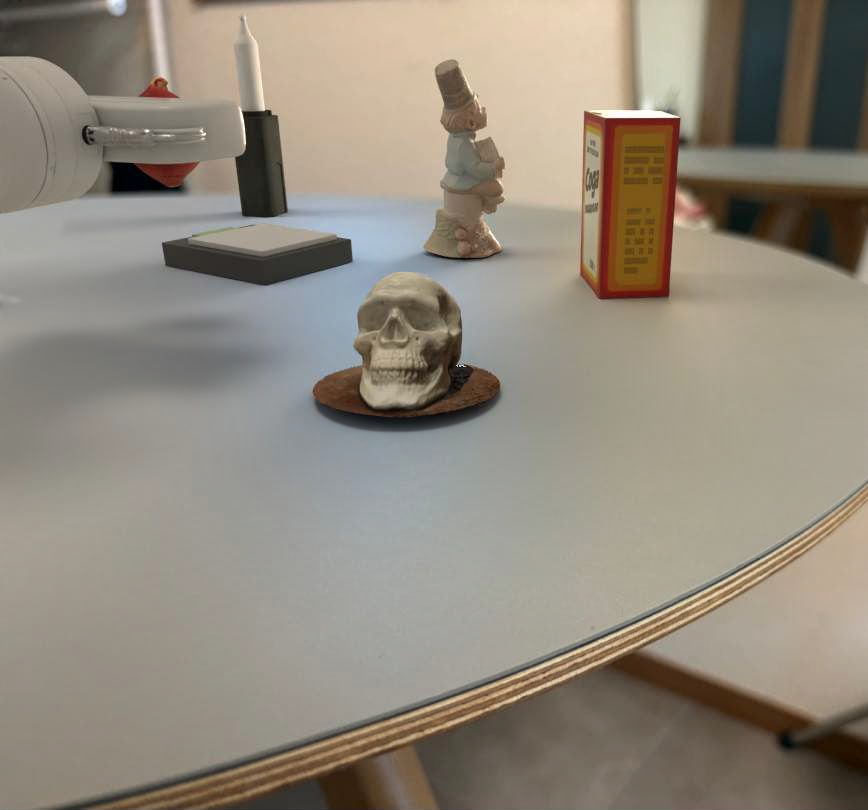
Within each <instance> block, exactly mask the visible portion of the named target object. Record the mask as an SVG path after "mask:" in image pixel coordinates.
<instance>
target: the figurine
mask: <svg viewBox="0 0 868 810" xmlns="http://www.w3.org/2000/svg"><path fill="white" fill-rule="evenodd" d="M434 76H435V80H436V83H437V88H438V89H439V93H440V95H441V98H442V102H443V107H442V111H441V112H442V113H441V117H440V120H439V122H440V124H441V125H442V126H443V128H444V130H445V131H446V132H447V133H448V134H449V135H448V136H447V140H446V153H445V157H444V165H445V168H446V169H447V171H446V172H445V174H444V176H443V178H442V179H441V180H440V182H439V185H440V188H441V189H442V190H443V208H442V209H437V210H436V212H435V224H434V229H433V231H432V232H431V234H430V236H429V237H428V239H427V240H426V242H425V243H424V244H423V245H422V248H423V250H425V251H426V252H428V253H431V254H434V255H438V256H443V257H448V258H457V259H458V258H459V259H461V258H466V259H470V258H471V259H478V258H488V257H489V256H491V255H494V254H497V253H499V252H501V251H502V247H501V244H500V243H499V241H498V240H497V239H496V238H495V236H494V234H493V233H492V231H491V229H490V228H489V225H488V224H487V223H486V222H485V219H484V218H483V216H484V213H485V214H487V215H492V214H495V213H496V212H497V209H498V205H500V204H503V203H504V202H505V200H506V198H505V195H503V193H504V185H503V184H502V183H501V181H500V180H501V179H502V178H503V170H506V169H507V168H506V167H507V164H506V160H505V157H504V156H500V153H499V150H498V148H497V147H498V146H497V145H496V143H495V140H494V138H493V137H492V136H488V137H485V138H484V139H480V140H477V141H475V140H476V137H477V131H479V130H483V129H485V128H487V127H488V121H489V115H488V113H487V112H486V111H487V107H486V106H481V105H480V101H479V98H480V96H479V94H476V92H475V91H473V90H472V88H471V86H470V85H469V82H468V80H467V78H466V76H465V74H464V72H463V69H462V67H461V65H460V63H459V62H458V60H456V59H454V58H453V59H447V60H444V61H442V62H440V63H438V64H437V65H436V66H435V68H434Z"/></svg>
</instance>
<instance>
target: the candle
mask: <svg viewBox="0 0 868 810" xmlns="http://www.w3.org/2000/svg"><path fill="white" fill-rule="evenodd" d="M238 18H239V25H238V31H237V35H236V37H235V40H234V42H233V50H234V51H233V52H234V58H235V67H236V74H237V83H238V91H239V98H240V108H241V111H242V114H243V120H244V127H245V136H246V147H245V151H244V153H243V154H242V155H240V156H237V157H234V162H235V168H236V169H235V170H236V179H237V186H238V193H239V201H240V209H241V215H242V216H243V217H260V218H261V217H262V218H272V217H278V216H279V215H283V214H285V213H284V212H286V213H288V212H289V208H288V197H287V188H286V179H285V170H284V160H283V159H284V158H283V151H282V141H281V133H280V123H279V115H277V114H273V110H272V109H266V108H265V99H264V98H265V97H264V90H263V80H262V79H263V78H262V73H261V71H262V70H261V62H260V52H259V45H258V42H257V41H256V39H255V38H254V36H253V35H252V33H251V31H250V28H249V26H248V23H247V21H246V20H247V16H246V15H245V14H244V13H240V14H239V15H238Z"/></svg>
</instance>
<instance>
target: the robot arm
mask: <svg viewBox="0 0 868 810" xmlns="http://www.w3.org/2000/svg"><path fill="white" fill-rule="evenodd" d="M241 110H242V109H241V105H240V104H238V103H237V102H236V101H234V100H230V99H216V98H215V99H213V98H185V97H184V98H181V97H179V98H155V97H138V96H122V95H121V96H120V95H90V94H89V95H88V94H87V93H86V92H85V91H84V89H83V88H82V86H81V85H80V84H79V83H78V82H77V80H75V79H74V77H72V76H71V75H70V74H69V73H68V72H67V71H65V70H64V69H63V68H62V67H60V66H58V65H56V64H55V63H53V62H51V61H49V60H46V59H43V58H41V57H36V56H0V214H2V215H3V214H11V213H16V212H20V211H21V212H22V211H26V210H29V209H34V208H41V207H45V206H50V205H51V206H52V205H55V204H56V205H57V204H60V203H65V202H70V201H73V200H76V199H78V198H80V197H82V196H83V195H85V194H86V193H87V192H88V191H89V190H90V189H91V188H92V187H93V186H94V184H95V183H96V181H97V179H98V177H99V175H100V172H101V169H102V165H103V162H112V163H130V164H131V163H132V164H134V163H148V164H182V163H192V162H200V163H201V162H208V161H209V162H210V161H215V160H217V161H218V160H224V159H230V158H235V157H237V156H240V155H242V154H243V153H244V151H245V147H246V136H245V127H244V120H243V114H242V111H241Z"/></svg>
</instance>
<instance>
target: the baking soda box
mask: <svg viewBox="0 0 868 810" xmlns="http://www.w3.org/2000/svg"><path fill="white" fill-rule="evenodd" d="M681 119H682V118H681V117H680V116H677V115H673V114H671V113H668V112H664V111H658V110H657V111H655V110H625V109H624V110H623V109H622V110H621V109H620V110H619V109H598V110H584V111H583V137H582V143H583V144H582V175H581V177H582V178H581V180H582V183H581V217H580V219H581V221H580V223H581V224H580V230H581V231H580V258H579V259H580V263H579V264H580V265H579V274H580V276H581V277H582V278H583V279H584V281H585V282H586V283H587V285H588V286H589V287H590V289H592V291H593V292H594V294H595V295H596V296H597V298H598V299H600V300H601V299H602V300H603V299H604V300H605V299H627V298H633V299H634V298H660V297H661V298H662V297H663V298H664V297H670V285H671V284H670V283H671V271H672V270H671V269H672V257H673V256H672V254H673V242H674V241H673V239H674V227H675V226H674V225H675V211H676V209H675V207H676V193H677V179H678V165H679V163H678V162H679V148H680V133H681V131H680V130H681Z"/></svg>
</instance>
